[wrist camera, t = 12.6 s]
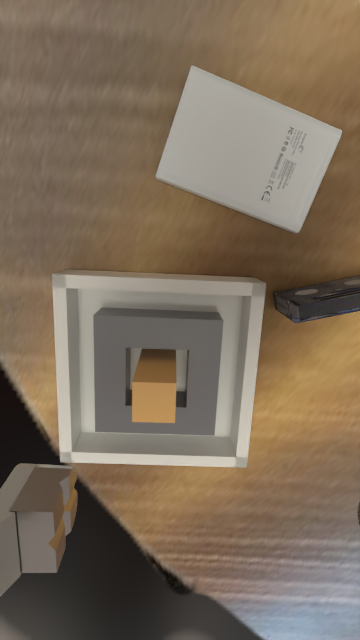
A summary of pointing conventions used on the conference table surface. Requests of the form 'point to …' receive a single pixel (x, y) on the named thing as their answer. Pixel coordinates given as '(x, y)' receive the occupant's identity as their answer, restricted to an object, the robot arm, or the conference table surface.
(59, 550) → the robot arm
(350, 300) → the mini dv tape
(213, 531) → the conference table surface
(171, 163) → the external hard drive
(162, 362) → the tan rectangular block
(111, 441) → the walled box
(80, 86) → the conference table surface
